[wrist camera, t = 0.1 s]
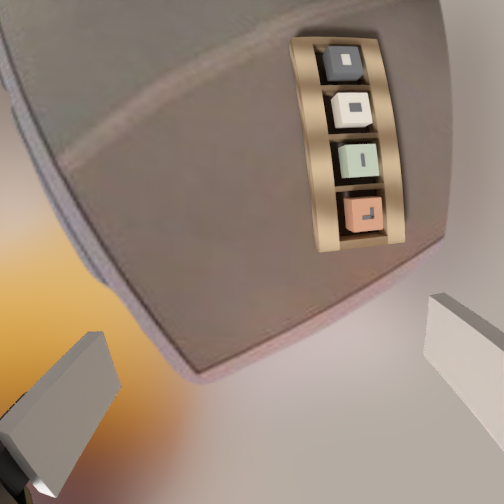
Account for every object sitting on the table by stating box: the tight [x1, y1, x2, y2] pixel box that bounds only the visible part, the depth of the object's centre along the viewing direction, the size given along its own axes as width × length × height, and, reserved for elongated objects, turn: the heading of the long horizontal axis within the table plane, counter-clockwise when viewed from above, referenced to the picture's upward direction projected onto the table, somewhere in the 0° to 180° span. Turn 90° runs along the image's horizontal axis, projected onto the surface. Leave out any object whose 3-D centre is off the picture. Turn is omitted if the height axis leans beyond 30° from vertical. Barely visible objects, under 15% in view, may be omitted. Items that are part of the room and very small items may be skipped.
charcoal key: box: [323, 46, 364, 82], centre depth 31 cm, size 4×4×3 cm
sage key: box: [338, 144, 379, 178], centre depth 33 cm, size 4×4×3 cm
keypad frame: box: [289, 37, 405, 252], centre depth 34 cm, size 26×11×3 cm, turn 7°
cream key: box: [331, 93, 373, 128], centre depth 32 cm, size 4×4×3 cm
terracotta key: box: [344, 196, 383, 232], centre depth 34 cm, size 4×4×3 cm
